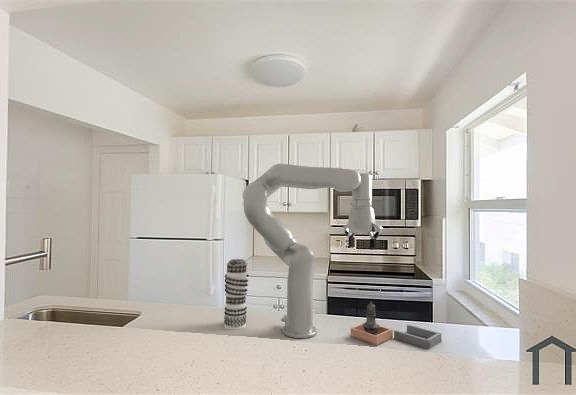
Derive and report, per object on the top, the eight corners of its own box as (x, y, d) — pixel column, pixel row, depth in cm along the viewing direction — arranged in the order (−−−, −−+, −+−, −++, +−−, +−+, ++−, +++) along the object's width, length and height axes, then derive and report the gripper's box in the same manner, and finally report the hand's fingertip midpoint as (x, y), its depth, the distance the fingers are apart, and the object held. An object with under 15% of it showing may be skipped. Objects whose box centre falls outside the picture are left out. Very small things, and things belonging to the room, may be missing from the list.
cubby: (394, 338, 109) (394, 330, 109) (408, 331, 116) (408, 324, 117) (428, 348, 100) (428, 340, 101) (441, 340, 108) (441, 333, 108)
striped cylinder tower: (229, 320, 125) (231, 257, 127) (250, 323, 122) (252, 259, 124) (218, 328, 116) (220, 260, 118) (241, 331, 113) (243, 261, 115)
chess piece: (380, 339, 106) (380, 303, 107) (362, 338, 107) (362, 302, 108) (378, 333, 112) (378, 299, 113) (362, 332, 113) (362, 298, 114)
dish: (350, 336, 110) (350, 328, 110) (367, 330, 117) (367, 321, 117) (376, 345, 102) (376, 336, 102) (392, 338, 109) (392, 329, 109)
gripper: (338, 204, 127) (338, 247, 125) (376, 203, 114) (376, 250, 113) (349, 205, 132) (349, 246, 130) (386, 204, 119) (387, 249, 118)
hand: (361, 248), depth 122 cm, fingers open, 9 cm apart
